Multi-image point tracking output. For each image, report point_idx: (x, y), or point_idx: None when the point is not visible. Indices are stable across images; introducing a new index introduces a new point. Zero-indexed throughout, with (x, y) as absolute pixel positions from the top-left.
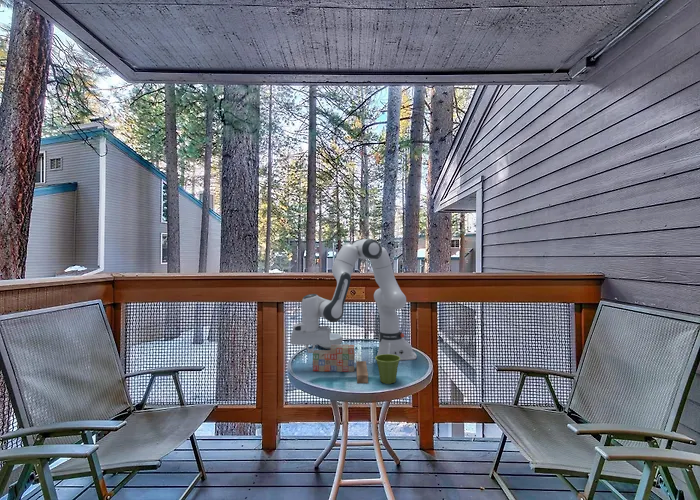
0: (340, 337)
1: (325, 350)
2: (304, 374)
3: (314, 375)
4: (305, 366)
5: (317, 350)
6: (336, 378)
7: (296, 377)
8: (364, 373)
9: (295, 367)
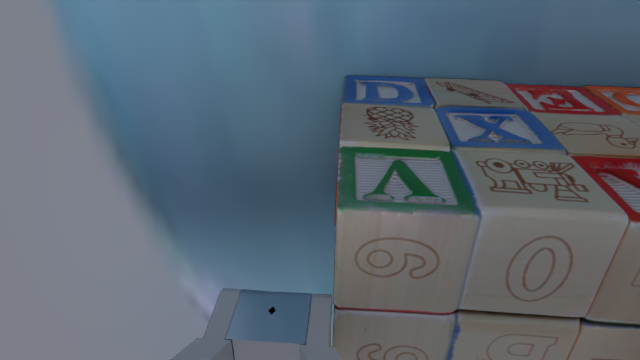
0: None
1: (620, 243)
2: (265, 257)
3: None
4: (222, 23)
5: (422, 243)
6: None
7: (210, 307)
8: None
9: (104, 59)
